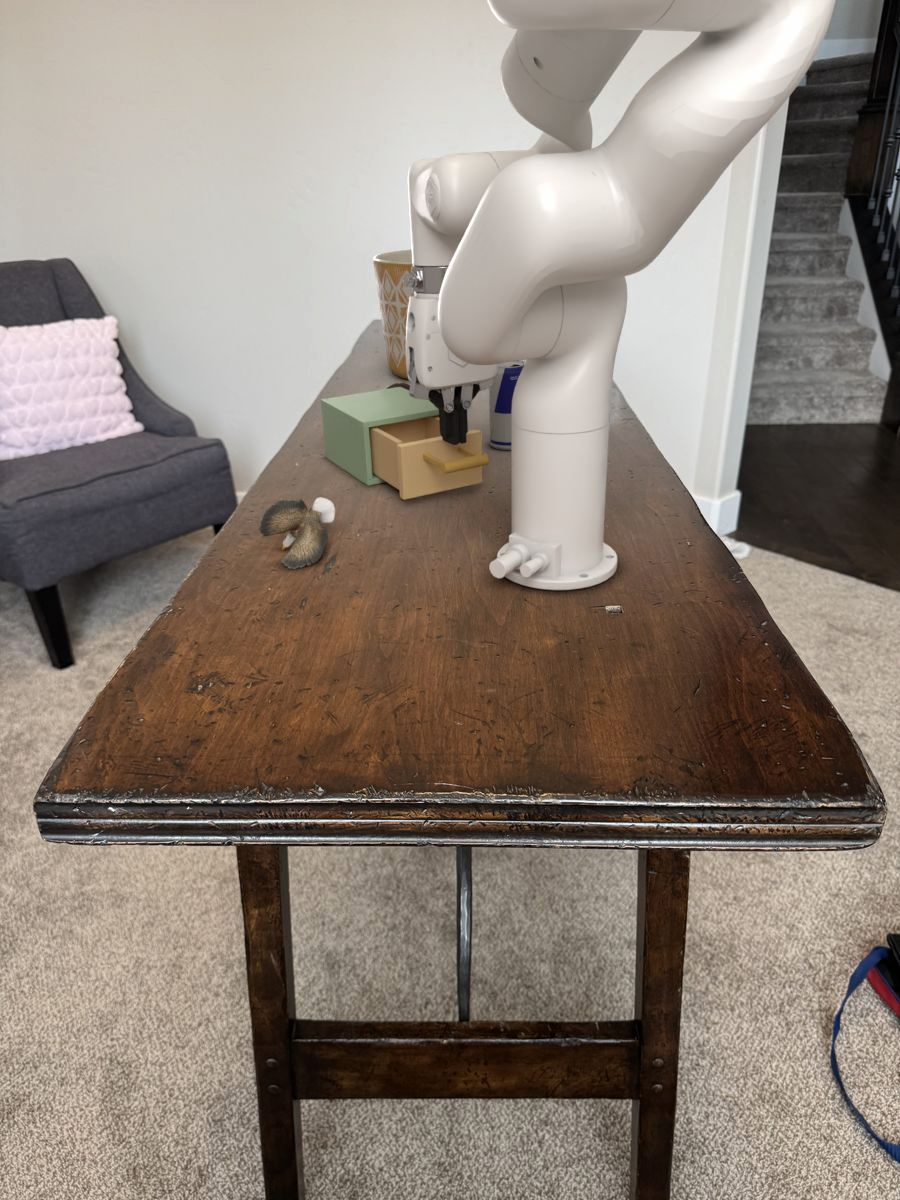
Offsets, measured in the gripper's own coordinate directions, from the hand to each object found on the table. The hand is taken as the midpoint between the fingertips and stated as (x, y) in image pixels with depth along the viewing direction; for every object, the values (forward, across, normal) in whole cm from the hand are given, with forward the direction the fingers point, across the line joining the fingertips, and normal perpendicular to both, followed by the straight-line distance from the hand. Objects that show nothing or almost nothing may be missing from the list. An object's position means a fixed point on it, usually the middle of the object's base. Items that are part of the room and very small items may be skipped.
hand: (454, 441), depth 107 cm
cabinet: (+8, 0, +20) cm, 22 cm away
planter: (+6, +35, +67) cm, 76 cm away
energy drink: (+8, +19, +18) cm, 27 cm away
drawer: (+7, 0, +7) cm, 10 cm away
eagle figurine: (+8, -22, -2) cm, 23 cm away
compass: (+7, +9, +39) cm, 40 cm away
